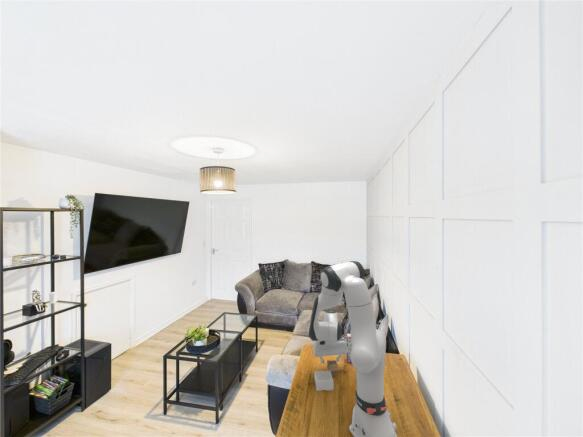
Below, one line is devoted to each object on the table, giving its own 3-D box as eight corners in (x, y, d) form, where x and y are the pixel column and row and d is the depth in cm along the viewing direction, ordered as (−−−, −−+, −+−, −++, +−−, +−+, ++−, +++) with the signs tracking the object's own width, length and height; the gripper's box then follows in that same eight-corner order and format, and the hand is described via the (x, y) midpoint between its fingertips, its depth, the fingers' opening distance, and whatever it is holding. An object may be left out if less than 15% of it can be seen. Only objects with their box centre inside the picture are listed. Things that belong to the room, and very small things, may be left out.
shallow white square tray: (333, 390, 128) (333, 380, 128) (316, 391, 128) (316, 381, 128) (330, 379, 137) (330, 370, 137) (314, 380, 137) (314, 370, 137)
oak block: (338, 375, 141) (338, 364, 141) (329, 376, 140) (329, 365, 140) (335, 370, 146) (335, 360, 146) (327, 371, 145) (327, 360, 145)
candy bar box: (347, 363, 152) (346, 336, 153) (346, 358, 157) (345, 333, 158) (365, 364, 151) (365, 337, 152) (363, 359, 156) (363, 333, 157)
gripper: (345, 334, 148) (344, 357, 148) (312, 337, 144) (312, 360, 144) (349, 339, 142) (349, 363, 142) (315, 342, 138) (315, 366, 138)
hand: (330, 362), depth 143 cm, fingers open, 8 cm apart
